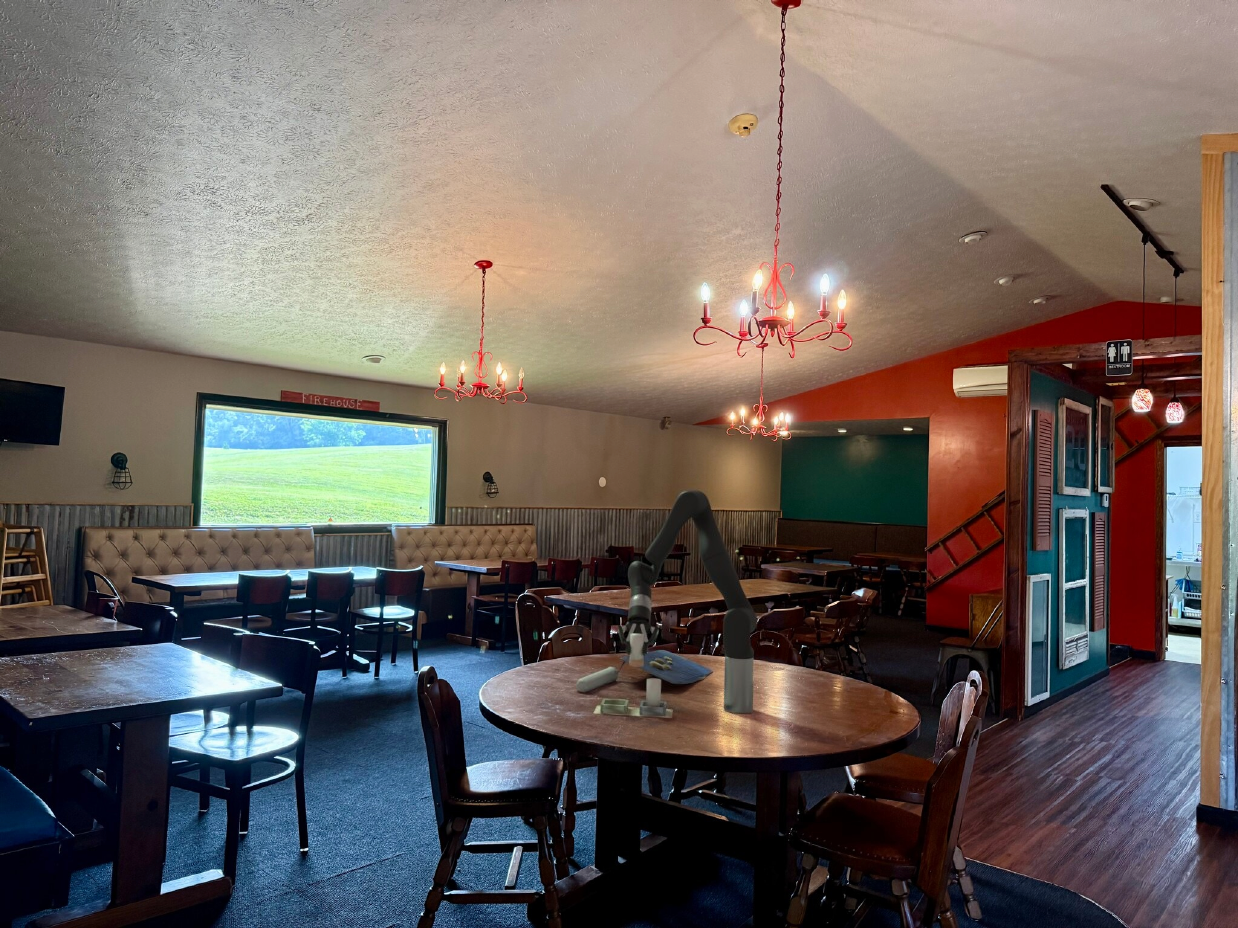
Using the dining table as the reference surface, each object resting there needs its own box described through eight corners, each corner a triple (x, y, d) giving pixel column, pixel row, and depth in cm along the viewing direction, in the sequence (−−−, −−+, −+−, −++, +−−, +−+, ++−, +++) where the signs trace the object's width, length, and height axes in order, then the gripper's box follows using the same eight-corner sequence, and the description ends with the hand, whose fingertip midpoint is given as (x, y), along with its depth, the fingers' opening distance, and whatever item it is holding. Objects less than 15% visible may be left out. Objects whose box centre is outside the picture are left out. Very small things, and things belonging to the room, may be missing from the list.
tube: (588, 683, 279) (620, 670, 301) (576, 676, 281) (608, 664, 304) (583, 697, 280) (615, 683, 302) (571, 690, 282) (604, 677, 304)
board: (672, 714, 255) (672, 701, 255) (671, 722, 245) (672, 709, 245) (597, 710, 257) (597, 697, 257) (593, 718, 247) (593, 704, 247)
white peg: (643, 664, 264) (644, 633, 264) (642, 667, 259) (643, 635, 259) (629, 663, 264) (630, 632, 264) (628, 666, 259) (629, 634, 260)
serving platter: (649, 668, 336) (658, 642, 336) (709, 695, 325) (718, 668, 325) (604, 681, 295) (614, 651, 295) (671, 712, 284) (682, 681, 284)
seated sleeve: (660, 710, 253) (661, 678, 253) (660, 714, 248) (661, 681, 249) (645, 710, 253) (646, 677, 254) (645, 713, 248) (646, 680, 249)
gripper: (618, 603, 271) (613, 645, 258) (660, 605, 269) (658, 647, 257) (619, 617, 276) (614, 659, 263) (661, 618, 274) (658, 661, 261)
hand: (636, 653), depth 260 cm, fingers closed on white peg, 4 cm apart
